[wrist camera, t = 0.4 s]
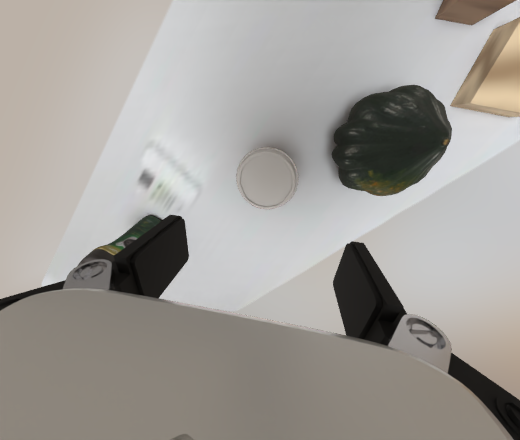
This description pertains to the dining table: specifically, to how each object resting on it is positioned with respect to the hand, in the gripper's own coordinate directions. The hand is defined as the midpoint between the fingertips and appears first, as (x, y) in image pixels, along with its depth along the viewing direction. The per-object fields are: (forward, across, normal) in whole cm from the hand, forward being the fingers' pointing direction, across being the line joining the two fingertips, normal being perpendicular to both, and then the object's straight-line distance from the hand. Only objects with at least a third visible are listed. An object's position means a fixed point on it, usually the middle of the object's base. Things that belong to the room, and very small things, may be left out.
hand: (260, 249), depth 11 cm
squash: (+30, -15, -5) cm, 34 cm away
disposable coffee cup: (+30, +2, +1) cm, 30 cm away
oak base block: (+30, -30, -16) cm, 45 cm away
